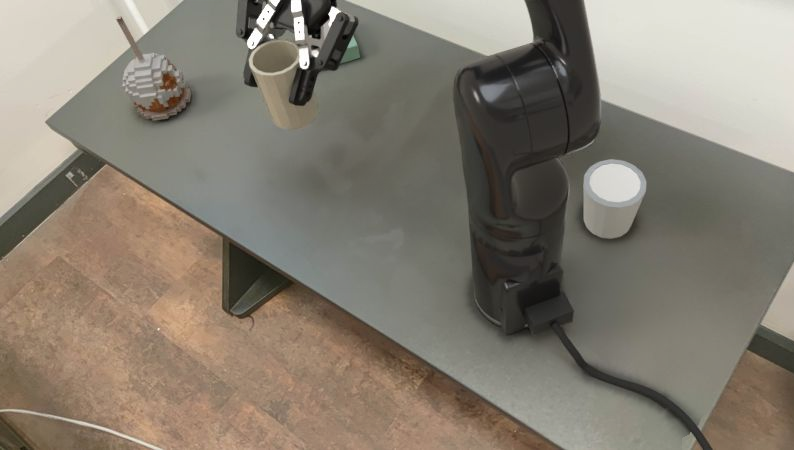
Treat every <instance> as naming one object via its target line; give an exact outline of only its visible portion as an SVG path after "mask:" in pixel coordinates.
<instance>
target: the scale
mask: <svg viewBox="0 0 794 450" xmlns="http://www.w3.org/2000/svg"><path fill="white" fill-rule="evenodd" d="M329 21H330V19H329V20H328V21H327V22H326V23H325V24H324V25H323V27H324V40H325V38H326V36H327V34H328V32H329V29H330V27H329V25H328V23H329ZM309 37H310V38H312V35H310V36H309ZM360 58H361V54H360V49H359V45H358V43H357V41H356V38H355V35H353V37H352V39H351V41H350V43H349V45H348V47H347V50H346V52H345V54H344V56H343V58H342V60H341V63H340V65H341V64H344V63H348V62H351V61H355V60H358V59H360Z"/></svg>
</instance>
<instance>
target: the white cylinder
mask: <svg viewBox="0 0 794 450" xmlns="http://www.w3.org/2000/svg"><path fill="white" fill-rule="evenodd" d="M582 190H583V197H582V198H583V223H584V225H585V228H586V229H587V230H588V231H589V232H590V233H591V234H592V235H594V236H596V237H598V238H601V239H609V240H612V239H617V238H621V237H623V236H625V235H626V234H627V233H628V232H629V231H630V229H631V227H632V225H633V223H634V221H635V219H636V216H637V213H638V211H639V209H640V207H641V205H642V202H643V199H644V197H645V194H646V192H647V178H645V175H644V173H643V171H641V170H640V169H639V168H638V167H636V166H635V164H632V163H630V162H628V161H626V160H623V159H613V158H610V159H605V160H600V161H598V162H595V163H594V164H592V165H591V166H589V167H588V169H587V170H586V172H585V173H584V175H583V187H582Z"/></svg>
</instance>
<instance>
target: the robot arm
mask: <svg viewBox="0 0 794 450" xmlns="http://www.w3.org/2000/svg"><path fill="white" fill-rule="evenodd" d="M523 1H524V4H525V6H526V10H527V12H528V16H529V20H530V25H531V30H532V41H531V42H529V43H526V44H523V45H520V46H515V47H513V48H510V49H506V50H503V51H500V52H496V53H493V54H489V55H487V56H484V57H480V58H477V59H474V60H471V61H468V62H466V63H463V64H462V65H461V66H460V67H459V68H458V69H457V71H456V73H455V75H454V78H453V84H452V85H453V86H452V101H453V109H454V114H455V115H454V116H455V122H456V128H457V133H458V141H459V147H460V153H461V164H462V172H463V177H464V184H465V189H466V190H465V191H466V201H467V202H466V203H467V210H468V211H467V212H468V229H469V239H470V240H469V241H470V256H471V257H470V258H471V270H472V272H471V273H472V281H473V284H472V285H473V286H472V293H473V300H474V303H475V306H476V308H477V309H478V311H479V312H480V314H481V315H482V316H483V317H484V318H485V319H486V320H488V321H489V322H490V323H492V324H494V325H496V326H498V327H501V329H502V330H503V332H504V334H505V335H511V334H514V333H516V332H520V331H522V330H525V329H528V328H529V329H528V330H529V331H530V332H531V335H532V336H533V337H535V336H537V335H539V334H542V333H545V332H547V331H550V330H552V331H553V332H554V333H555V335H556V336H557V338H558V340H559V341H560V343H561V344H562V346H563V347H564V348H565V349H566V351H567V353H569V355H570V356H571V357H572V359H573V360H574V361H575V363H576V364H577V366H578V367H579V368H580V369H581V370H582V371H583V372H585V373H587V374H588V375H589V376H592V377H593V378H595V379H597V380H600V381H602V382H604V383H607V384H610V385H613V386H615V387H619V388H622V389H626V390H629V391H632V392H634V393H638V394H641V395H643V396H646V397H648V398H649V399H652V400H654V401H656V402H658V403H659V404H661V405H662V406H664V407H665V408H666V409H668V410H669V411H670V412H672V413H673V414H674V415H675V416H676V417H677V418H678V419H679V420H680V421H681V423H683V424H684V425H685V426H686V428H687V429H688V430H689V431H690V433H691V434H692V435H693V437H694V438H695V440H696V441H697V443H698V444H699V446H700V447H701V449H702V450H714V449H713V447H712V445H711V444H710V443H709V441H708V440H707V438H706V437H705V435H704V433H703V432H702V431H701V429H700V428H699V426H697V424H696V423H695V421H694V420H693V419H692V418H691V417H690V416H689V415H688V414H687V413H686V412H685V411H684V410H683V409H682V408H681V406H679V405H677V404H676V403H675V402H674V401H673V400H672V399H669V398H668V397H667V396H665V395H663V394H661V393H660V392H658V391H656V390H655V389H652V388H650V387H648V386H644V385H642V384H639V383H636V382H633V381H629V380H626V379H622V378H619V377H617V376H613V375H610V374H607V373H605V372H603V371H601V370H599V369H597V368H595V367H594V366H592V365H591V364H590V363H588V362H587V361H586V360H585V359H584V357H583V356H582V354H581V353H580V352H579V350H578V349H577V348H576V346H575V344H573V342H572V341H571V339H570V338H569V336H568V335H567V333H566V332H565V331H564V329H563V328H562V326H564V325H566V324H569V323H572V322H573V321H574V314H575V310H574V308H573V306H572V304H571V302H570V300H569V298H568V297H567V295H566V293H565V291H564V290H562V286H563V279H564V278H563V277H564V268H563V267H562V256H563V248H564V246H563V245H564V239H565V229H566V222H567V214H568V207H569V198H570V179H569V175H568V172H567V170H566V168H565V166H564V164H563V163H562V162H561V161H560V160H559V158H561V157H564V156H567V155H570V154H572V153H576V152H578V151H580V150H583V149H585V148H587V147H588V146H590V145H592V144H593V143H594V142H595V140H596V139H597V137H598V135H599V133H600V130H601V124H602V112H603V111H602V94H601V86H600V79H599V73H598V67H597V60H596V56H595V51H594V45H593V39H592V35H591V30H590V24H589V19H588V14H587V8H586V3H585V0H523ZM337 2H338V1H337V0H237V13H236V25H235V35H236V37H237V38H238V39H241V40H243V42H245V44H247V47H248V52H247V55H246V59H245V64H244V67H243V72H242V75H243V79H244V80H243V83H244V85H246V86H248V87H250V88H257V89H259V88H258V86H257V83H256V81H255V78H254V76H253V73H252V71H251V69H250V66H249V58H250V55H251V53H252V52H253V51H254V50H255V49H256V48H257V47H258V46H259V45H261V44H263V43H265V42H267V41H271V40H275V39H279V38H280V37H282V36H284V34H285V33H286V32H287V31H289V32H290V33H292V34H294V42H295V43H296V45H297V46H298V48H299V62H300V67H301V69H300V68H297V70H296V74H295V77H294V81H293V84H292V88H291V92H290V96H289V103H291V104H293V105H296V106H304V105H305V104H306V103H307V102H309V101H310V99H311V98H312V94H313V90H314V91H315V86H316V82H317V79H318V75H319V73H320V72H325V71H330V72H331V71H332V72H335V71H337V70H338V69H339V68H340V65H341V64H342V63H341V60H342V58H343V56H344V54H345V52H346V50H347V47H348V45H349V43H350V41H351V39H352V37H353V36H354V34H355V32H356V31H357V28H358V25H359V23H360V21H359V18H358V16H356V15H353V14H351V13H347V12H345V11H343V10H342V9H341V8H339V7H338V3H337ZM264 3H265V4H266V5H265V7H264V8H263V6H264ZM329 19H330V21H329V23H328V25H329V27H330V29H329V32H328V34H327V36H326V38H325V40H324V27H323V25H324V24H325V23H326V22H327V21H328V20H329ZM310 35H312V38H310V37H309V36H310ZM340 63H341V64H340Z"/></svg>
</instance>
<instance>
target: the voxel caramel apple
mask: <svg viewBox="0 0 794 450" xmlns="http://www.w3.org/2000/svg"><path fill="white" fill-rule="evenodd" d="M115 20H116V22H117V23H118V26H119V27H120V29H121V31H122V33H123V34H124V37H125V38H126V40H127V42H128V44H129V45H130V48H131V49H132V51H133V53H134V54H135V56H136V57H135V58H133V59H131V61H129V62H128V64H127V65H126V68H125V69H124V71H123V76H122V84H121V88H122V89H123V91H124V92H125V94H126V96H127V97H128V99H129V101H130V103H131V104H134V107H133V108H134V109H135V110H137V111H136V112H137V114H138V115H140V117H142V118H144V119H145V120H148V119H151V121H154V122H155V121H160V120H167V119H169V118H170V117H171V116H175V115H176V116H177V115H178V113H179V112H181V111H182V109H185V108H186V105H187V103H191V96H192V90H191V88H189V84H188V83H186V80H185V75H184V73H183V71H182V70H181V68H178V67H177V66H176V64H175V63H173V62H172V61H171V59H170V58H168V56H167V54H161V55H160V54H159V53H155V52H150V53H143V54H142V52H141V49H140V48H139V46H138V45H137V42H136V41H135V39H134V37H133V36H132V34H131V32H130V29H129V28H128V26H127V24H126V22H125V20H124V18H123V17H122V15H119V16H116V18H115Z"/></svg>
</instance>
